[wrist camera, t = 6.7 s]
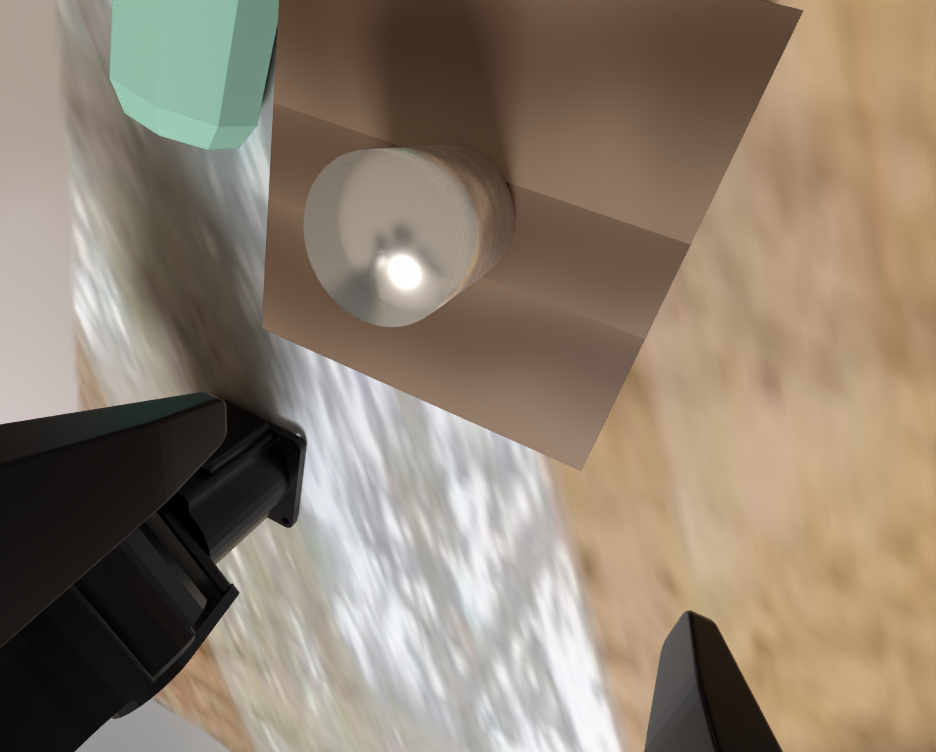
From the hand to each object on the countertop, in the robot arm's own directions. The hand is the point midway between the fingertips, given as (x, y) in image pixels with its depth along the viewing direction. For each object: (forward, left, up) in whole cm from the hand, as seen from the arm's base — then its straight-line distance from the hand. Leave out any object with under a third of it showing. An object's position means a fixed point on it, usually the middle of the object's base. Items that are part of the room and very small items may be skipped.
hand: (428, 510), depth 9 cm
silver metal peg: (+3, +3, -11) cm, 12 cm away
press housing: (+3, +3, -12) cm, 13 cm away
